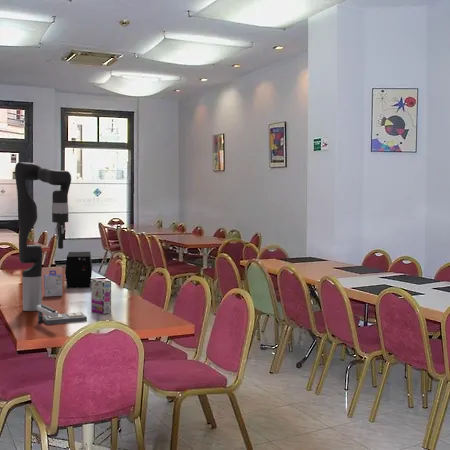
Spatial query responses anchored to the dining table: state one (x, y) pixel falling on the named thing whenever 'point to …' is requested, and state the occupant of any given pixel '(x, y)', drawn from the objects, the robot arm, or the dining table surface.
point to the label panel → (65, 318)
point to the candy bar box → (101, 296)
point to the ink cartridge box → (53, 284)
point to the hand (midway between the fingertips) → (60, 248)
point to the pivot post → (40, 317)
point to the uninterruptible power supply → (78, 270)
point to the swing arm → (47, 310)
